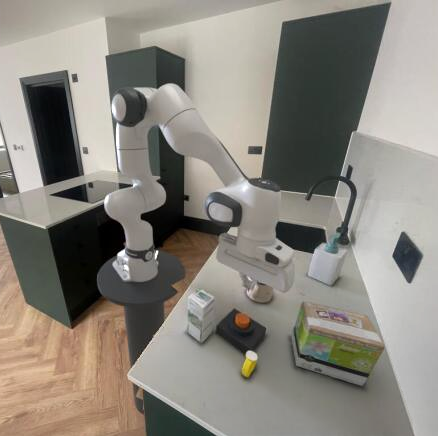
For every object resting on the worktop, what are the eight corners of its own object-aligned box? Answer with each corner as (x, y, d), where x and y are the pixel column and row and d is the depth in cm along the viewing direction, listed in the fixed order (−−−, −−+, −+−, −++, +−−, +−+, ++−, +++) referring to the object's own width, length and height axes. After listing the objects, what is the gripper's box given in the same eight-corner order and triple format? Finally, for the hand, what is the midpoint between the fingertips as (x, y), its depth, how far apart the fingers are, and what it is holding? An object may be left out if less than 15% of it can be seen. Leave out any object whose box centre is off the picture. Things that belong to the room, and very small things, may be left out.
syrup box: (212, 332, 72) (215, 296, 66) (201, 344, 68) (203, 307, 62) (198, 322, 75) (199, 286, 70) (186, 333, 72) (187, 296, 66)
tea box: (295, 368, 61) (308, 327, 55) (290, 336, 70) (301, 299, 64) (364, 388, 56) (386, 346, 50) (350, 352, 65) (367, 312, 59)
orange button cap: (232, 322, 69) (233, 317, 68) (239, 315, 72) (240, 310, 71) (244, 331, 66) (245, 325, 66) (251, 323, 69) (252, 318, 68)
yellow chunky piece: (248, 383, 58) (251, 368, 55) (238, 375, 59) (240, 360, 57) (258, 366, 61) (262, 351, 59) (248, 359, 63) (251, 344, 61)
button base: (215, 332, 72) (216, 320, 70) (233, 315, 78) (234, 303, 76) (248, 357, 64) (250, 344, 62) (265, 335, 70) (267, 323, 68)
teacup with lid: (250, 283, 92) (254, 259, 88) (274, 293, 87) (280, 267, 82) (239, 300, 84) (243, 274, 79) (265, 312, 78) (270, 285, 74)
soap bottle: (338, 277, 95) (353, 236, 87) (331, 286, 90) (345, 243, 82) (315, 267, 101) (327, 228, 94) (307, 275, 96) (318, 235, 89)
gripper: (213, 234, 63) (210, 275, 69) (291, 264, 49) (280, 313, 55) (226, 227, 67) (222, 266, 73) (302, 253, 53) (290, 300, 59)
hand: (248, 287), depth 64 cm, fingers closed
